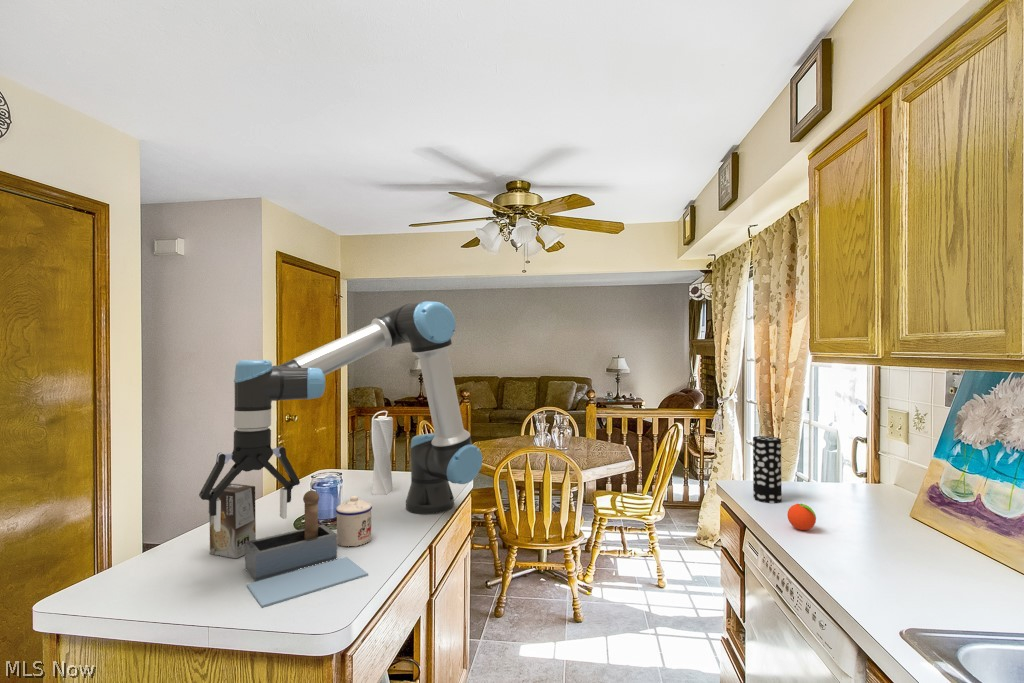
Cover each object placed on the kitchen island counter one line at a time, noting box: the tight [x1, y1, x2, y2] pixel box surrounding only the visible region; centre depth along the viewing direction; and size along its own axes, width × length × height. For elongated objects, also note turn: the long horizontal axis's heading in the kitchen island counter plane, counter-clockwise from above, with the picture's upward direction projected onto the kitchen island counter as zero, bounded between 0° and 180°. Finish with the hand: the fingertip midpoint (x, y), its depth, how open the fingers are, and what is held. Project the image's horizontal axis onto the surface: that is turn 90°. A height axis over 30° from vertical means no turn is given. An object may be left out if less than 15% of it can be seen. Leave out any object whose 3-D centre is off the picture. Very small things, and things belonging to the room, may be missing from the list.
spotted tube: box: [752, 435, 783, 504], centre depth 171 cm, size 8×8×20 cm
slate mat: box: [246, 556, 369, 609], centre depth 113 cm, size 22×12×1 cm, turn 130°
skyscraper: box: [371, 410, 394, 496], centre depth 181 cm, size 8×8×28 cm
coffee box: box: [208, 482, 257, 559], centre depth 130 cm, size 9×6×16 cm
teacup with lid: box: [335, 495, 373, 548], centre depth 138 cm, size 12×9×12 cm
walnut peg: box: [302, 489, 320, 540], centre depth 125 cm, size 4×4×16 cm
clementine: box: [786, 503, 817, 531], centre depth 142 cm, size 8×7×7 cm
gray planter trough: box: [244, 524, 338, 582], centre depth 122 cm, size 18×9×6 cm, turn 130°
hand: (251, 523), depth 117 cm, fingers open, 13 cm apart
